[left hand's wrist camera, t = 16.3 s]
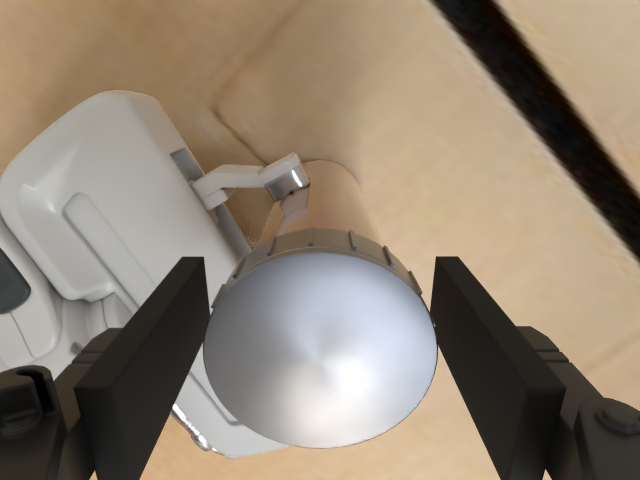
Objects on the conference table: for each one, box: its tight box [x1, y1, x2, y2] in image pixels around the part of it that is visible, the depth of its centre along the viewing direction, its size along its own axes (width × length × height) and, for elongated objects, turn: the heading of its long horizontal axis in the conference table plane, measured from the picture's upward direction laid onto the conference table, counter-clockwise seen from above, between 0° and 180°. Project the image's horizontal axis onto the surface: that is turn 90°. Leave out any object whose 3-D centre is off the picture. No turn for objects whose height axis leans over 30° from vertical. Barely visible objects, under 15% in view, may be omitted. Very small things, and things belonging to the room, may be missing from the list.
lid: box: [203, 226, 438, 449], centre depth 11 cm, size 6×6×2 cm
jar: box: [256, 160, 384, 248], centre depth 19 cm, size 5×5×16 cm
